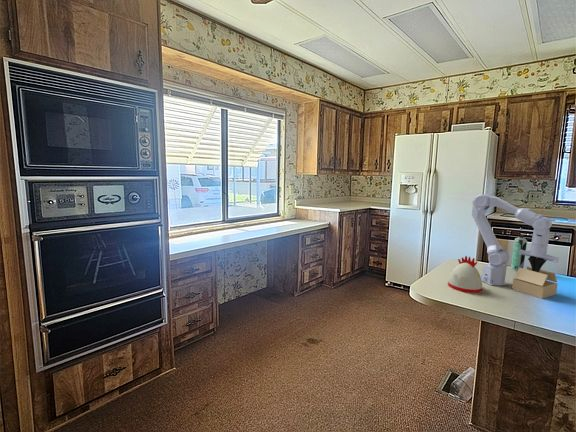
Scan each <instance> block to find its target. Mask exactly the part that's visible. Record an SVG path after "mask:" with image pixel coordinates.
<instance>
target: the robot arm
mask: <svg viewBox="0 0 576 432" xmlns="http://www.w3.org/2000/svg"><path fill="white" fill-rule="evenodd" d="M471 203H472V210H471V216H472V218H473V219H474V220H473V221H474V222H475V224H476V227H477V229H478V230H479V232H480V235H481V237H482V239H483V242H484V244H485V245H486V248H487V249H486V250H487V251H486V253H487V255H488V257H487V259H488V264H485V265H484V266H482V270H481V275H480V277H481V281H482V283H483V282H484V283H486V284H488V285H490V286H509V285H510V283H508V282H505V281H506V275H507V273H506V272H507V267H508V264H507V263H506V262H508V261H509V260H510V255H509V253H508V252H507V251H506V250H505V249H504V248H503V246H502V245H500V243H499V241H498V239H497V237H496V234H495V233H494V230H493V228H492V226H491V224H490V223H489V220H488V218H487V216H486V213H487V211H488V209H489V208H491V207H494V208H495V207H497V208H499V209H502V210H503V211H506V212H508V213H511V214H513V215H514V216H515V219H516V220H518V221H521V222H523V223H525V224H527V225H528V226H531V227H532V228H533V233H532V238H531V245H530V250H526V251H525V250H519V254H520V255H525V257H526V256H527V257H528V258H527V260H528V262H529V264H530V267H532V271H535V272H538V273H539V271H540V269H541V270H542V267H543V266H544V264H545V263H546V262H547V261H549V262H553V263H559V257H557V256H552V255H551V254H550V255H549V254H548V247H549V240H550V230H551V229H550V228H551V227H552V225H553V223H552V220H551V219H550V218H548V217H547V216H543V215H542V214H541V213H539V214H538V213H536V212H534V211H532V210H531V208H529V207H528V208H525V207H522V208H519V207H517V206H515V205H514V204H511V203H510V202H508V201H506V200H504V199H502V198H500V197H497V196H496V195H493V194H490V193H485V194H477V195H476V196H475V197H474V198H473V200H472V202H471Z"/></svg>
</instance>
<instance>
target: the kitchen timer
mask: <svg viewBox="0 0 576 432" xmlns="http://www.w3.org/2000/svg"><path fill="white" fill-rule="evenodd" d="M457 261H458V265H456V266H455V267H454V268H453V270H452V271H451V272H450V275H449V278H448V280H447V286H448V288H451V289H452V290H456V291H459V292H462V293H463V292H464V293H469V294H479V293H481V292H483V291H482V290H483V281H481V275H480V272H479V270H478V268H477V267H476V265H477V264H478V261H475V257H473V258H472V259H471V256H468V255H465V257H464V256H463V257H461V259H460V258H458V260H457Z"/></svg>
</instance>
